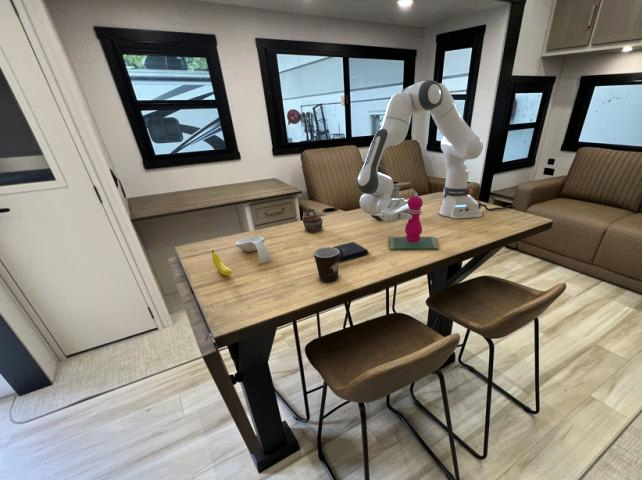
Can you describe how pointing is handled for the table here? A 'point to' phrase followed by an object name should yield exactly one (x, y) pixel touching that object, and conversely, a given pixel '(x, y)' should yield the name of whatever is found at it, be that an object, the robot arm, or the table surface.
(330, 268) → the coffee mug
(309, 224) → the cupcake
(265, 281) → the table surface
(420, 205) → the pepper mill
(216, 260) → the banana
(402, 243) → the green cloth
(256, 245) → the spoon rest
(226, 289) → the table surface
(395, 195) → the milk frother
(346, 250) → the laptop
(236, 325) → the table surface
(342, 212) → the table surface
